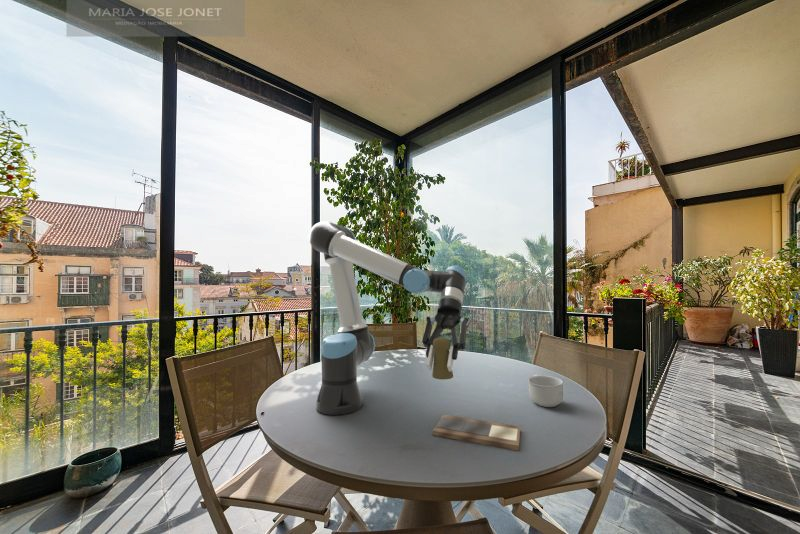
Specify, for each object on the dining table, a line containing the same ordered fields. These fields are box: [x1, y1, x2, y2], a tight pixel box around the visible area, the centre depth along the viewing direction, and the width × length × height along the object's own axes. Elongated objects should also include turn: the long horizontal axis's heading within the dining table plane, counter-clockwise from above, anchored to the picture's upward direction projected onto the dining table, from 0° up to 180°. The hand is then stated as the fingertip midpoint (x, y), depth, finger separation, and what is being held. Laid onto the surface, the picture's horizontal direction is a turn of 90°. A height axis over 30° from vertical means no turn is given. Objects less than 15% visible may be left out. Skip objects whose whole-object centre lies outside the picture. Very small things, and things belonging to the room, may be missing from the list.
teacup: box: [527, 374, 564, 408], centre depth 109 cm, size 14×11×8 cm
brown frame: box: [432, 414, 521, 451], centre depth 88 cm, size 22×11×1 cm, turn 68°
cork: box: [431, 336, 454, 380], centre depth 93 cm, size 6×6×11 cm
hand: (439, 368), depth 89 cm, fingers closed on cork, 5 cm apart
